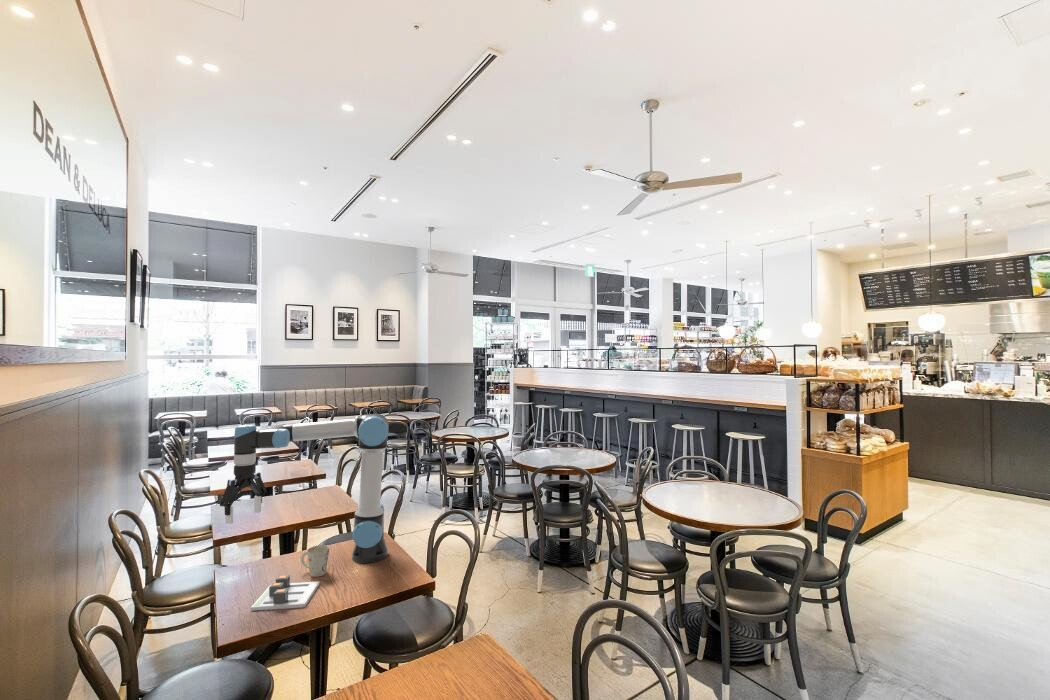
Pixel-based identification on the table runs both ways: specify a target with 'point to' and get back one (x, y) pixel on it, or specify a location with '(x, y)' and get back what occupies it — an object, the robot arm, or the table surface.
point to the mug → (316, 559)
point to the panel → (296, 594)
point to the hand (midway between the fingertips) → (243, 517)
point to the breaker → (280, 596)
